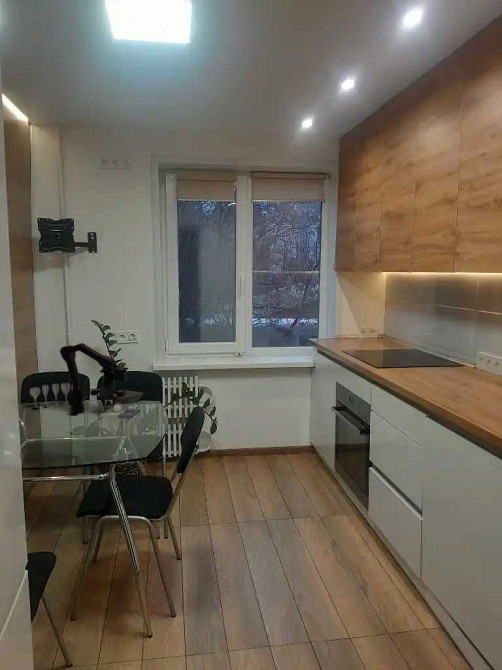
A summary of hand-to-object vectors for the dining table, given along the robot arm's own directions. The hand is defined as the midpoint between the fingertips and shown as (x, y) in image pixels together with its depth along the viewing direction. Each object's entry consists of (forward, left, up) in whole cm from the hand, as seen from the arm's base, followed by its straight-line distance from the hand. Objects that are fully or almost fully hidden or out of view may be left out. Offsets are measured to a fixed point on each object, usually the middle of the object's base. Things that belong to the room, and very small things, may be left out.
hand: (108, 407), depth 278 cm
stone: (+5, +21, -4) cm, 22 cm away
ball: (+5, 0, 0) cm, 5 cm away
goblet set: (-39, +15, -4) cm, 42 cm away
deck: (+7, 0, -4) cm, 8 cm away
